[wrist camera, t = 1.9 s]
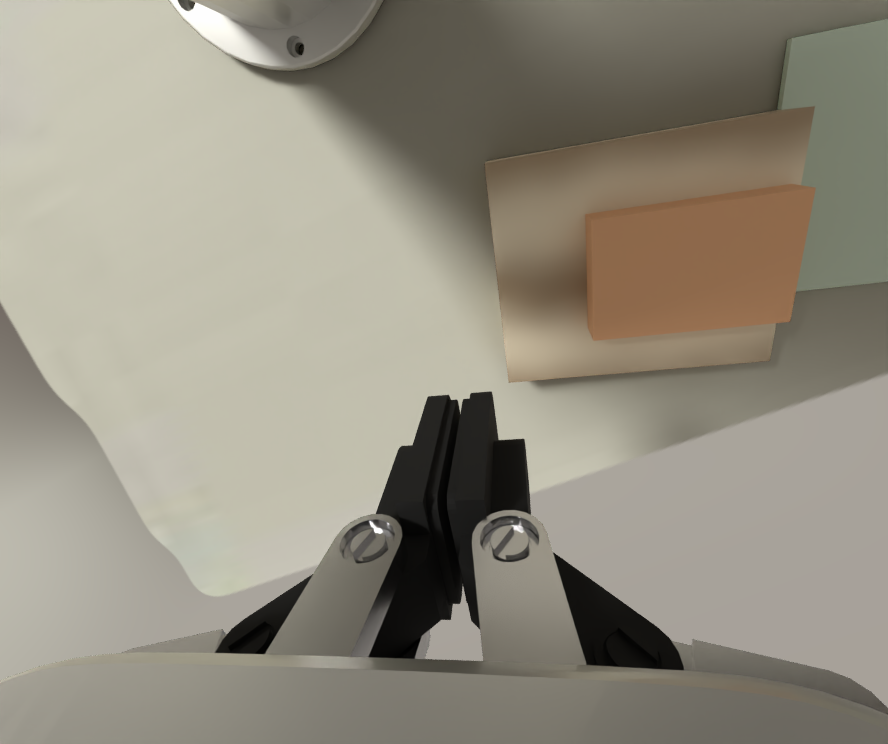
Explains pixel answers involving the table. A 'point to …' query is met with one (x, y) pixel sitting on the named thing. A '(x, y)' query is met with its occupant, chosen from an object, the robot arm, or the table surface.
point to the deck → (610, 188)
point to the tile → (696, 262)
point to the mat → (843, 151)
